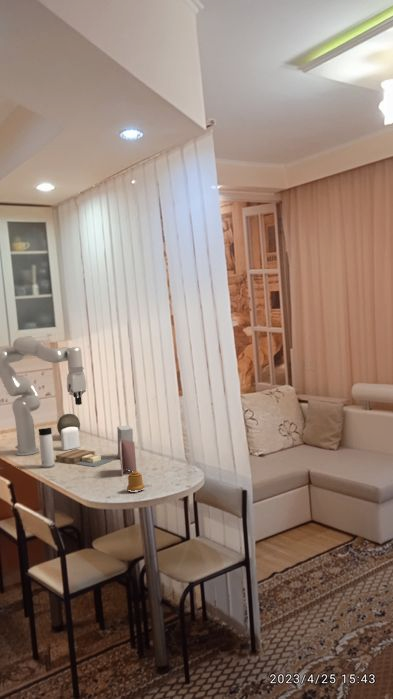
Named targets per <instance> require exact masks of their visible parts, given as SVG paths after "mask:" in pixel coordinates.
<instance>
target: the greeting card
mask: <svg viewBox="0 0 393 699" xmlns="http://www.w3.org/2000/svg"><path fill="white" fill-rule="evenodd" d="M135 445H136V444H135V441H133V442H132V441H128V440H125V439H121V441H120V442H119V447H120V454H121V458H120V470H121V475H124V471H125V470H124V469H127V470H130V471H137V460H136V459H137V458H136V448H135ZM123 470H124V471H123ZM127 470H126V471H127ZM130 471H129V472H130ZM137 472H138V471H137Z"/></svg>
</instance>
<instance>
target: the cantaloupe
mask: <svg viewBox="0 0 393 699" xmlns="http://www.w3.org/2000/svg"><path fill="white" fill-rule="evenodd" d="M56 427H57V432H58V434H59V435H60V436H61V430H62V429H64V428H67V427H77V428H78V430H79V431H80V428H81V423H80V419H79V418H78V416H77V415H76V414H73V413H65V414H63V415H62V416H60V418H59V419H58V421H57V425H56Z"/></svg>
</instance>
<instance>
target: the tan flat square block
mask: <svg viewBox="0 0 393 699" xmlns="http://www.w3.org/2000/svg"><path fill="white" fill-rule="evenodd" d="M89 454H91V455H96V454H95V451H94V450H85V449H79V448H75V449H70V450H67V451H66V452H63V453H60V454H57V455H55V461H56V462H59V463H65V464H72V465H76V464H75V463H78V462H81V461H82V457H83V456H86V455H89Z"/></svg>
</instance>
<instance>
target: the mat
mask: <svg viewBox="0 0 393 699" xmlns="http://www.w3.org/2000/svg"><path fill="white" fill-rule="evenodd" d="M115 460H116V459H115V458H111V457H104V456H103V457H102V456H101V460H100V461H97V462H94V463H91V462H84V461H81V462H78V463H75V464H74V465H79V466H86V467H90V468H91V467H92V468H96V467H100V466H101V465H104V464H107V463H110V462H113V461H115Z"/></svg>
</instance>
